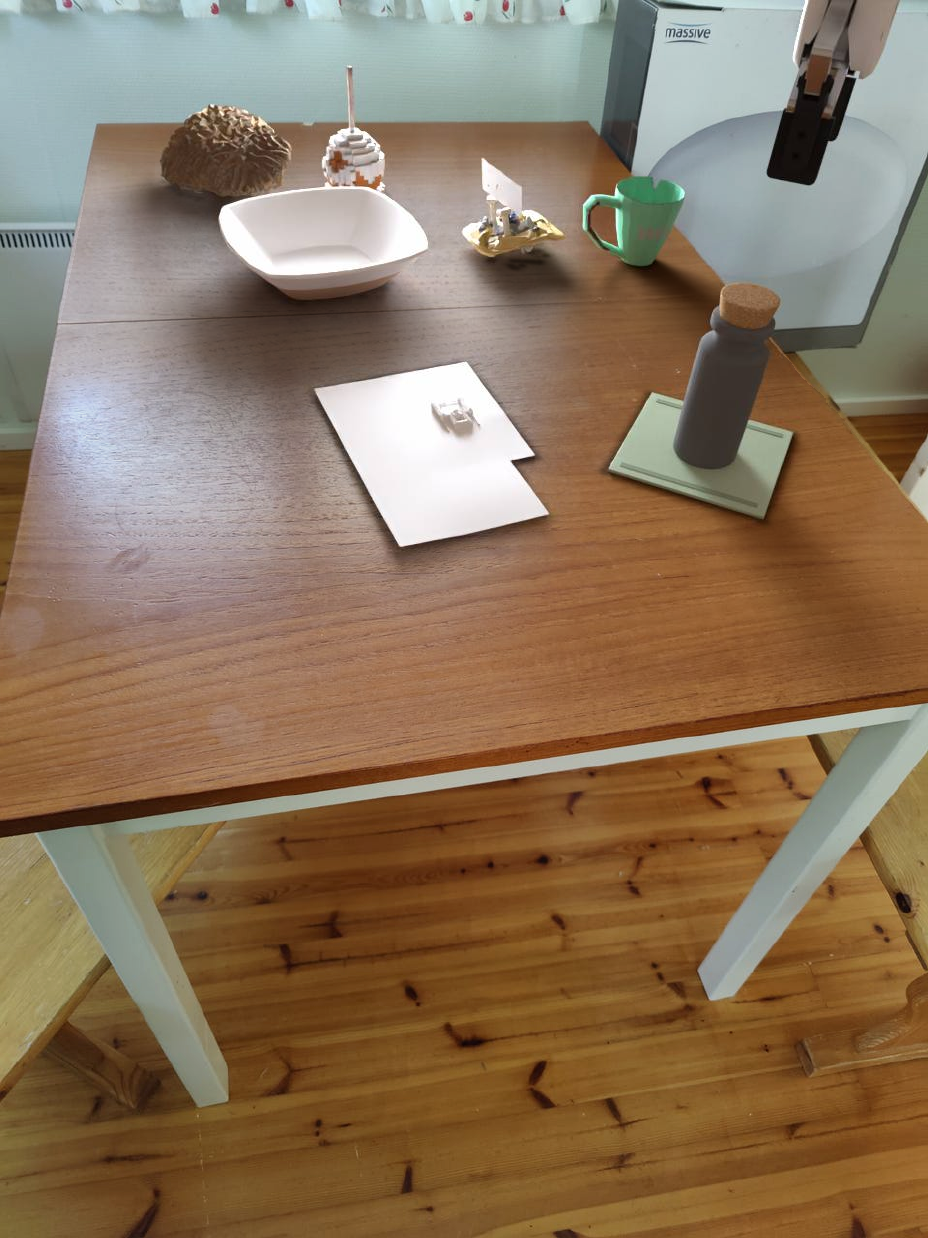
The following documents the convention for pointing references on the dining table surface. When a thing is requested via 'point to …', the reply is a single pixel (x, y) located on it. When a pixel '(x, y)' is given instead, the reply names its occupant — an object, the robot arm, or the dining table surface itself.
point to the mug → (638, 217)
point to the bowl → (323, 239)
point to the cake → (507, 219)
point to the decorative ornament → (353, 154)
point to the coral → (225, 153)
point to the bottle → (726, 376)
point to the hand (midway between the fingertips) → (802, 157)
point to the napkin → (727, 487)
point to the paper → (433, 452)
